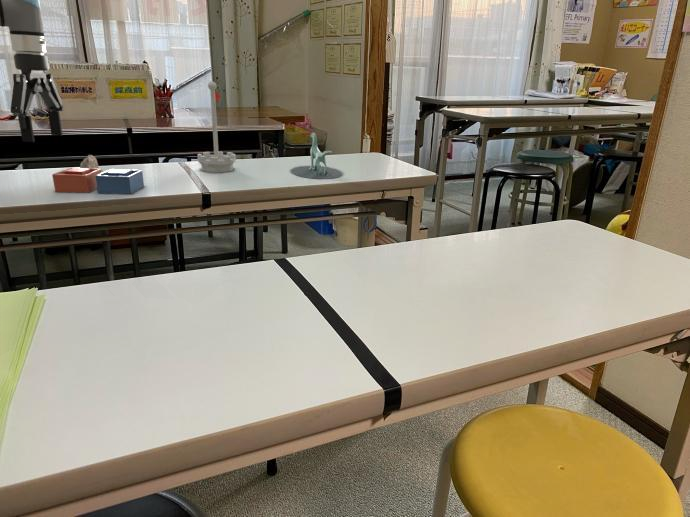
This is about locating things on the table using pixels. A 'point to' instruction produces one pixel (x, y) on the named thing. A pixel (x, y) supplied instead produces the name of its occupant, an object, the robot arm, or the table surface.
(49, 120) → the robot arm
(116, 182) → the blue bin
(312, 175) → the dinosaur
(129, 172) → the blue block
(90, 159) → the rock
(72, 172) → the red block
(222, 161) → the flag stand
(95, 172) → the terracotta bin
